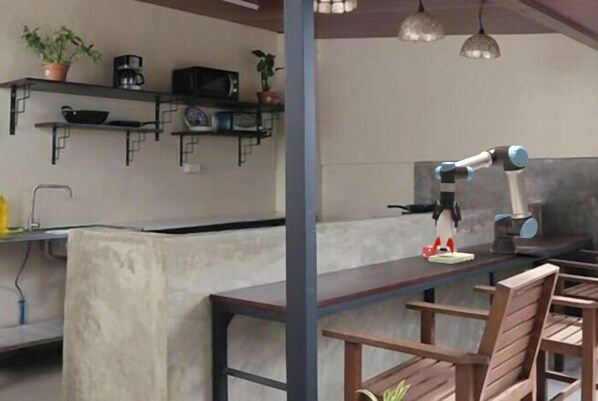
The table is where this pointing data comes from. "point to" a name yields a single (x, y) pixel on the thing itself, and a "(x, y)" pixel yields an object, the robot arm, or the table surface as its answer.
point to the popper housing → (445, 251)
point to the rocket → (444, 231)
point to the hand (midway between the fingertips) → (446, 233)
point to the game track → (451, 257)
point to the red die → (428, 251)
